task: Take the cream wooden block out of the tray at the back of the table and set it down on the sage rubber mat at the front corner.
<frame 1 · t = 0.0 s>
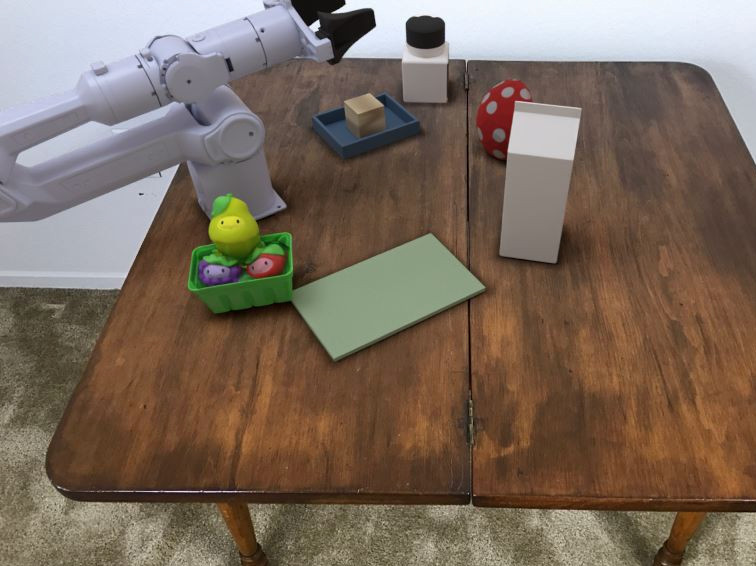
hand: (358, 6, 82), 22 cm above the table, tool horizontal, fingers open, 7 cm apart
medicine bottle: (426, 94, 111), on the table
tray: (366, 132, 103), on the table
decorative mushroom: (523, 152, 100), on the table
mat: (386, 293, 80), on the table
block: (366, 130, 103), resting on tray
fruit basket: (253, 291, 80), on the table, touching mat
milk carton: (530, 243, 86), on the table
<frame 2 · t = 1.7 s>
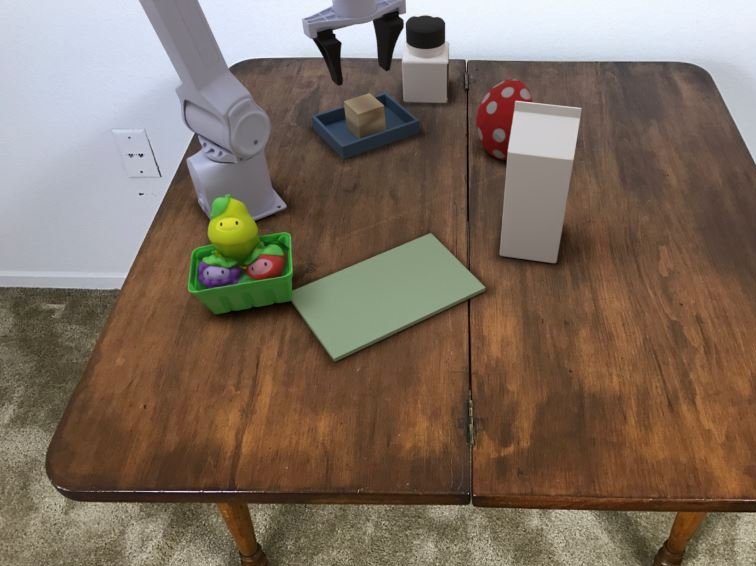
hand: (361, 75, 96), 9 cm above the table, tool pointing down, fingers open, 7 cm apart
nothing on the table moved.
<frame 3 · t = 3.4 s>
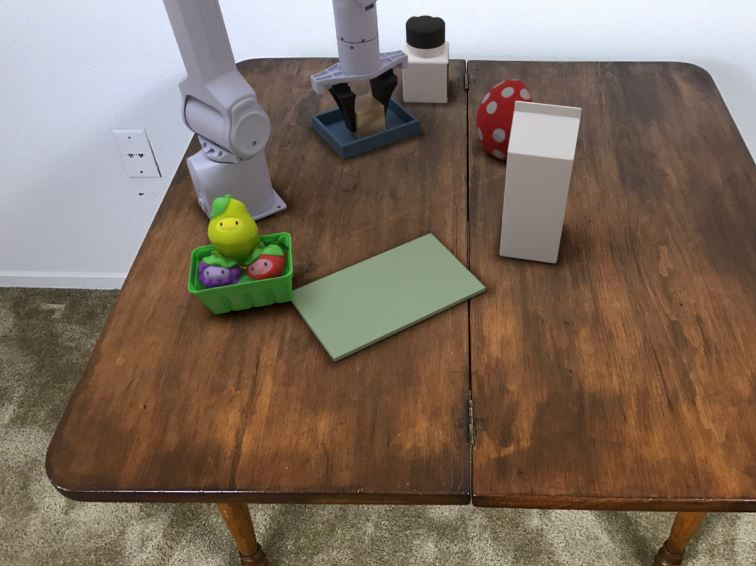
hand: (365, 124, 102), 1 cm above the table, tool pointing down, fingers closed on block, 4 cm apart
block: (366, 130, 103), resting on tray, touching gripper
everything else where it was.
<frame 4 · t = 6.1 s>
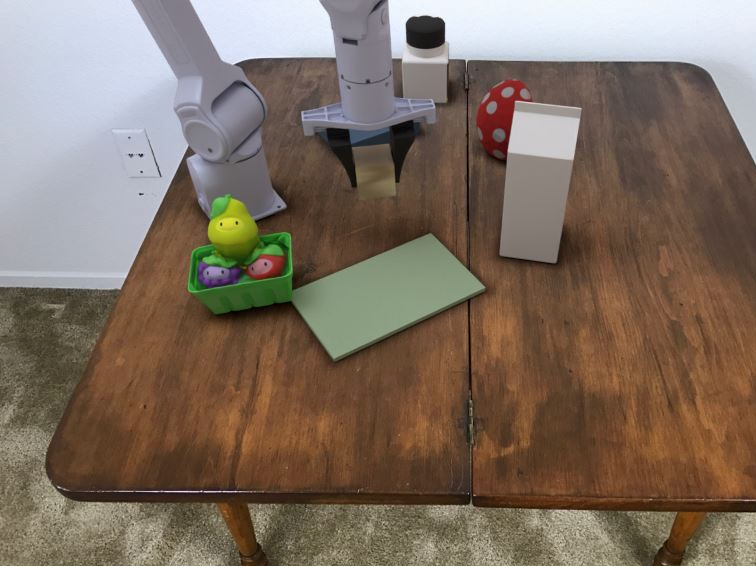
hand: (375, 180, 81), 8 cm above the table, tool pointing down, fingers closed on block, 4 cm apart
block: (375, 187, 81), point 7 cm above the table, touching gripper
everything else where it was.
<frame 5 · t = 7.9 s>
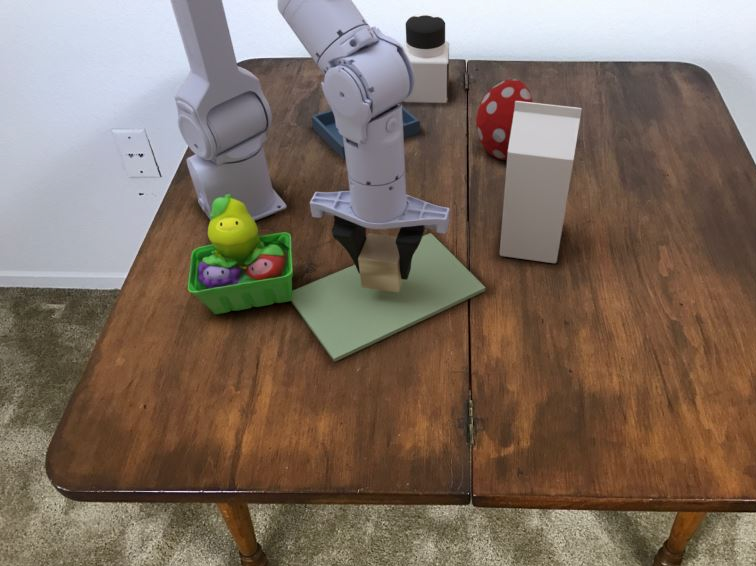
hand: (385, 270, 77), 4 cm above the table, tool pointing down, fingers closed on block, 4 cm apart
block: (385, 277, 78), point 3 cm above the table, touching gripper
everything else where it was.
when the fingers open (2 cm above the table, at t = 9.0 s): block stays where it is, resting on mat.
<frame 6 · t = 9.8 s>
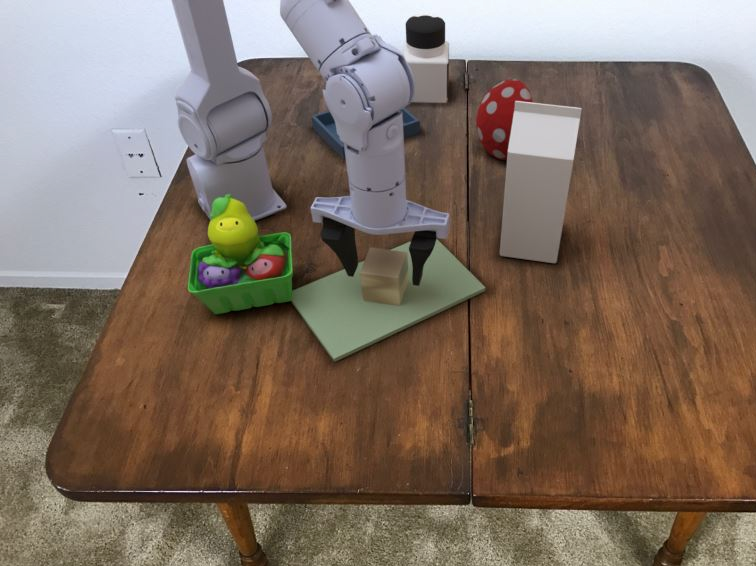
hand: (385, 275, 78), 3 cm above the table, tool pointing down, fingers open, 7 cm apart
block: (386, 290, 79), point 1 cm above the table, touching mat
everything else where it was.
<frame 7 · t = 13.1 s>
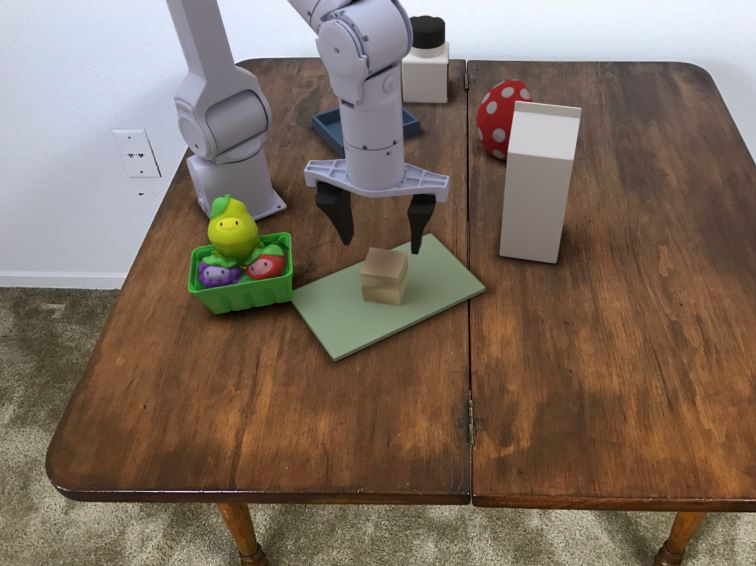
hand: (382, 244, 74), 8 cm above the table, tool pointing down, fingers open, 7 cm apart
nothing on the table moved.
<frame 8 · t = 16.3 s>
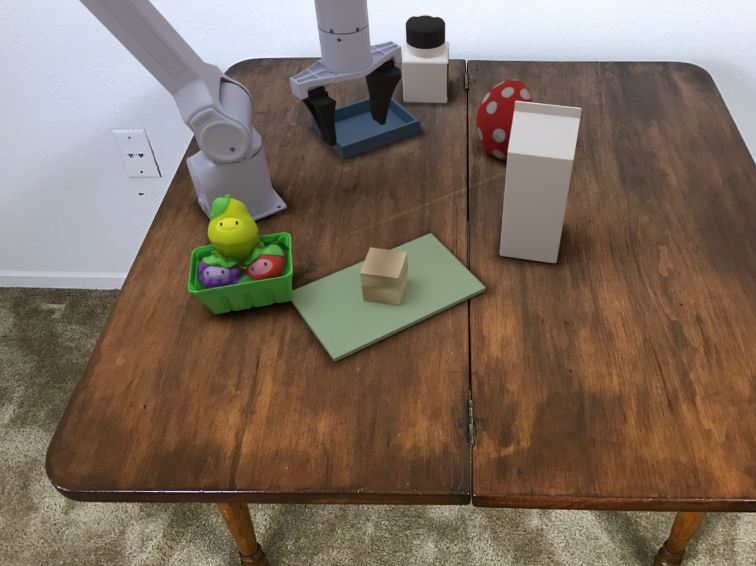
hand: (354, 131, 86), 9 cm above the table, tool pointing down, fingers open, 7 cm apart
nothing on the table moved.
at the end: block inside the target area on the mat (0.0 cm from its centre), point 0.6 cm above the mat's base; block touching mat; block tilted 0° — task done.
